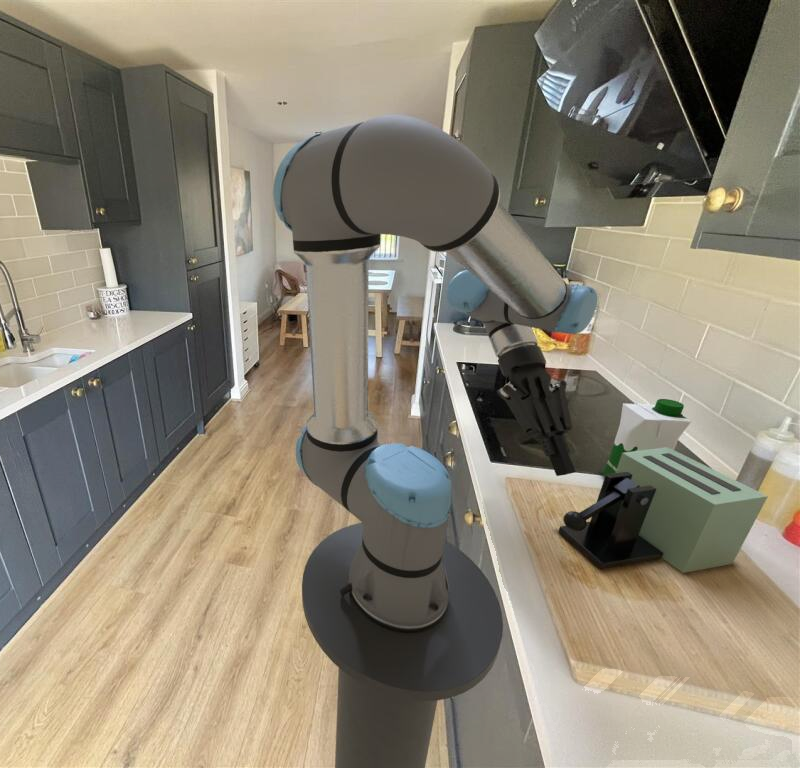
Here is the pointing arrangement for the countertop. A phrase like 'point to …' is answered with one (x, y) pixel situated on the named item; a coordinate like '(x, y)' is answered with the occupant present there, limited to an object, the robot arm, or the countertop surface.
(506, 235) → the robot arm
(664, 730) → the countertop surface
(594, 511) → the black lever handle
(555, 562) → the countertop surface
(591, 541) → the lever bracket
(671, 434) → the milk carton
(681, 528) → the toaster
